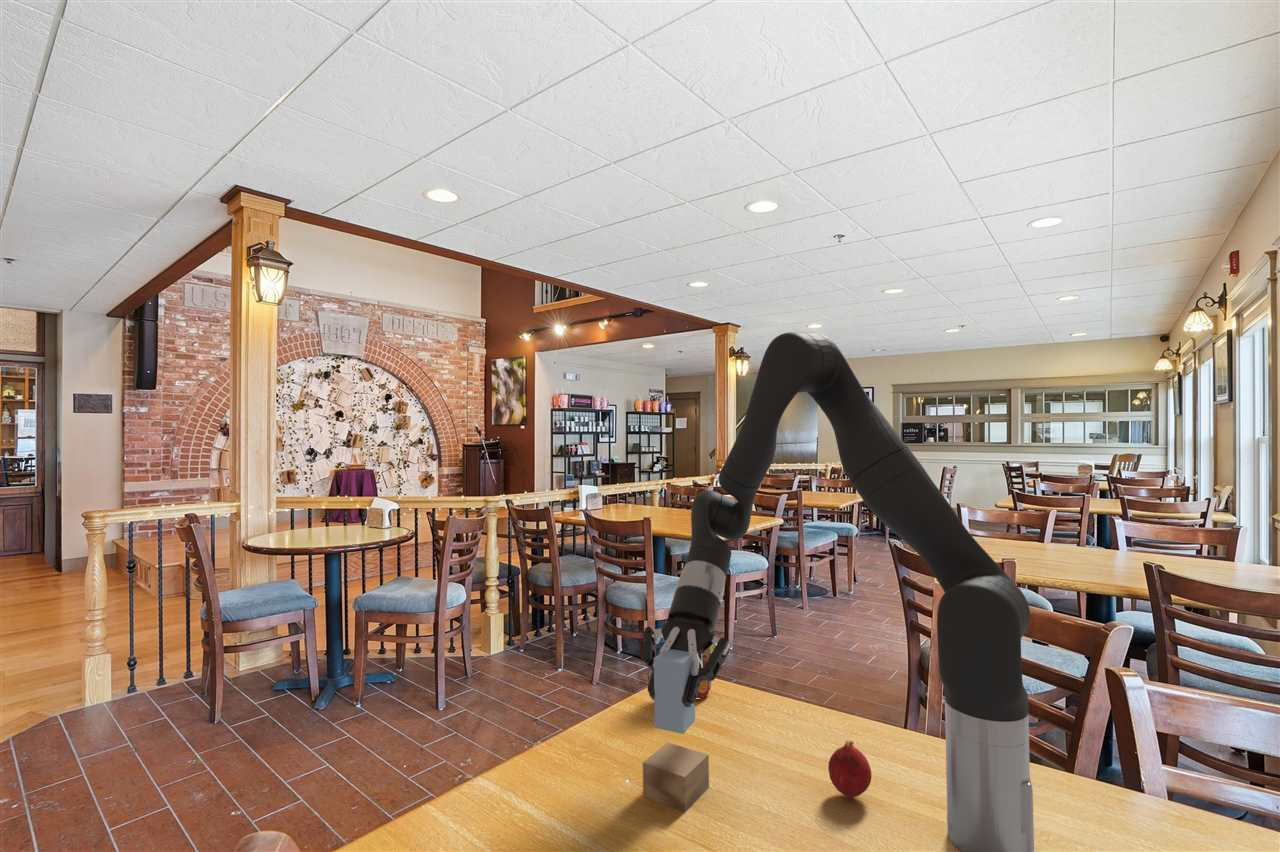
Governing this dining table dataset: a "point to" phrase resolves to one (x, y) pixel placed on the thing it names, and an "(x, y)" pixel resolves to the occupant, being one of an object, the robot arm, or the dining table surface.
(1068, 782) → the dining table surface
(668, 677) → the pillar
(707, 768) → the walnut block
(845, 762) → the onion
